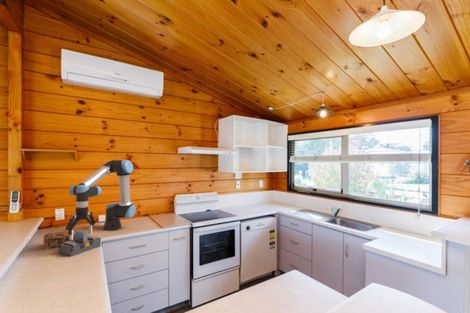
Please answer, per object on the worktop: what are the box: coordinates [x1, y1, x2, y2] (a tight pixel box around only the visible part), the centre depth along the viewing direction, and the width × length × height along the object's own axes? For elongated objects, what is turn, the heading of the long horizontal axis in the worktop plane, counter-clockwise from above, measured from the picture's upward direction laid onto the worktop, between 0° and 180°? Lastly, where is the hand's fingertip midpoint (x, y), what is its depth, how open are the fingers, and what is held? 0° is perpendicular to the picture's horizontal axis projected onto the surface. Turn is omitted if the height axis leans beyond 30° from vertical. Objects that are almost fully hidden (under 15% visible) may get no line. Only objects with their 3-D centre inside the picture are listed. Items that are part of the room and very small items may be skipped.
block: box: [74, 229, 89, 243], centre depth 168 cm, size 9×3×10 cm, turn 66°
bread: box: [43, 230, 75, 250], centre depth 175 cm, size 19×11×10 cm, turn 127°
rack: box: [58, 235, 102, 257], centre depth 167 cm, size 21×14×7 cm, turn 157°
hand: (81, 236), depth 168 cm, fingers open, 13 cm apart
